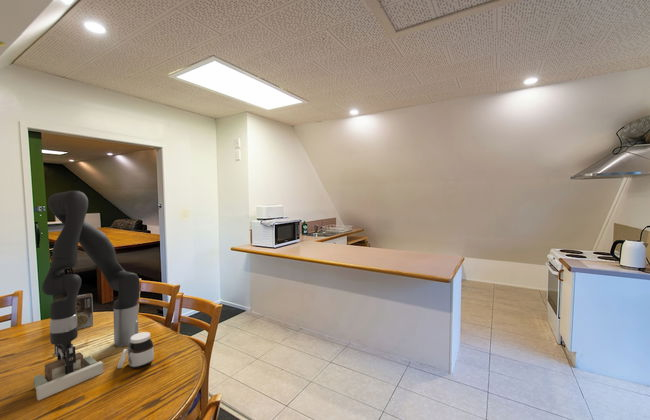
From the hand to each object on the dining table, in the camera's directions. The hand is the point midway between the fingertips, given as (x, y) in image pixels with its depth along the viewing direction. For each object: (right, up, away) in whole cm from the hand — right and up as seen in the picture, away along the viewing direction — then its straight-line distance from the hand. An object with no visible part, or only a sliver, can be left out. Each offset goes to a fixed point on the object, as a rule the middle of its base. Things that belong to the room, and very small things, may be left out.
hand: (65, 369), depth 105 cm
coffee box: (-30, -1, +42) cm, 52 cm away
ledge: (+3, -3, -2) cm, 4 cm away
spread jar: (+20, -3, +9) cm, 22 cm away
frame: (0, -3, 0) cm, 3 cm away
